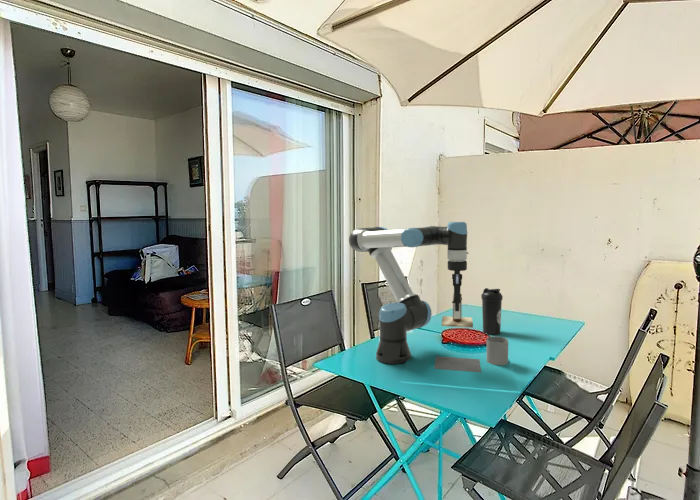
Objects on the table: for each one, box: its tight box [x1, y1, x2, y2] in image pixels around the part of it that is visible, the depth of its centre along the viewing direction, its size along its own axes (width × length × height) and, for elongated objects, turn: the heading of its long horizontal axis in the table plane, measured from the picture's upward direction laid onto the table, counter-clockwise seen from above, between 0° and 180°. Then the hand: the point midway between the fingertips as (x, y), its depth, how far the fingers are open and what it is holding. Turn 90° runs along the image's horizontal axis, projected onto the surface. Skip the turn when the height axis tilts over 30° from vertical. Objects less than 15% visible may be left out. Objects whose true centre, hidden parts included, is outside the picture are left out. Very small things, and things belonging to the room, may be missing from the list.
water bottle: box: [481, 287, 504, 336], centre depth 205 cm, size 10×10×23 cm
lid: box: [441, 293, 474, 329], centre depth 162 cm, size 12×12×12 cm
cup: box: [485, 335, 509, 366], centre depth 165 cm, size 8×8×10 cm
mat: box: [433, 355, 482, 373], centre depth 164 cm, size 18×14×1 cm
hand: (457, 317), depth 162 cm, fingers closed on lid, 3 cm apart
